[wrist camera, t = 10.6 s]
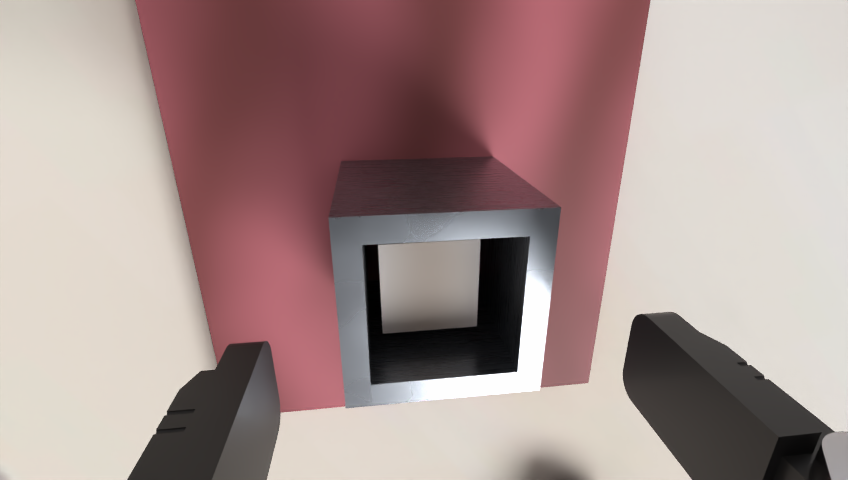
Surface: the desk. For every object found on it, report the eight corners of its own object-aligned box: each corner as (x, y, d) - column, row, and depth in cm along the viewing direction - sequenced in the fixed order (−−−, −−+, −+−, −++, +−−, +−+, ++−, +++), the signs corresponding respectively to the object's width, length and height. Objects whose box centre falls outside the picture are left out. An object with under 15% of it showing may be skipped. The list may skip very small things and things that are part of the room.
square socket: (493, 156, 16) (560, 207, 10) (485, 288, 18) (539, 390, 12) (341, 161, 15) (328, 217, 10) (351, 297, 17) (345, 408, 12)
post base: (634, -6, 15) (766, -37, 10) (578, 368, 22) (644, 463, 16) (147, -9, 14) (20, -49, 9) (235, 400, 20) (191, 518, 15)
